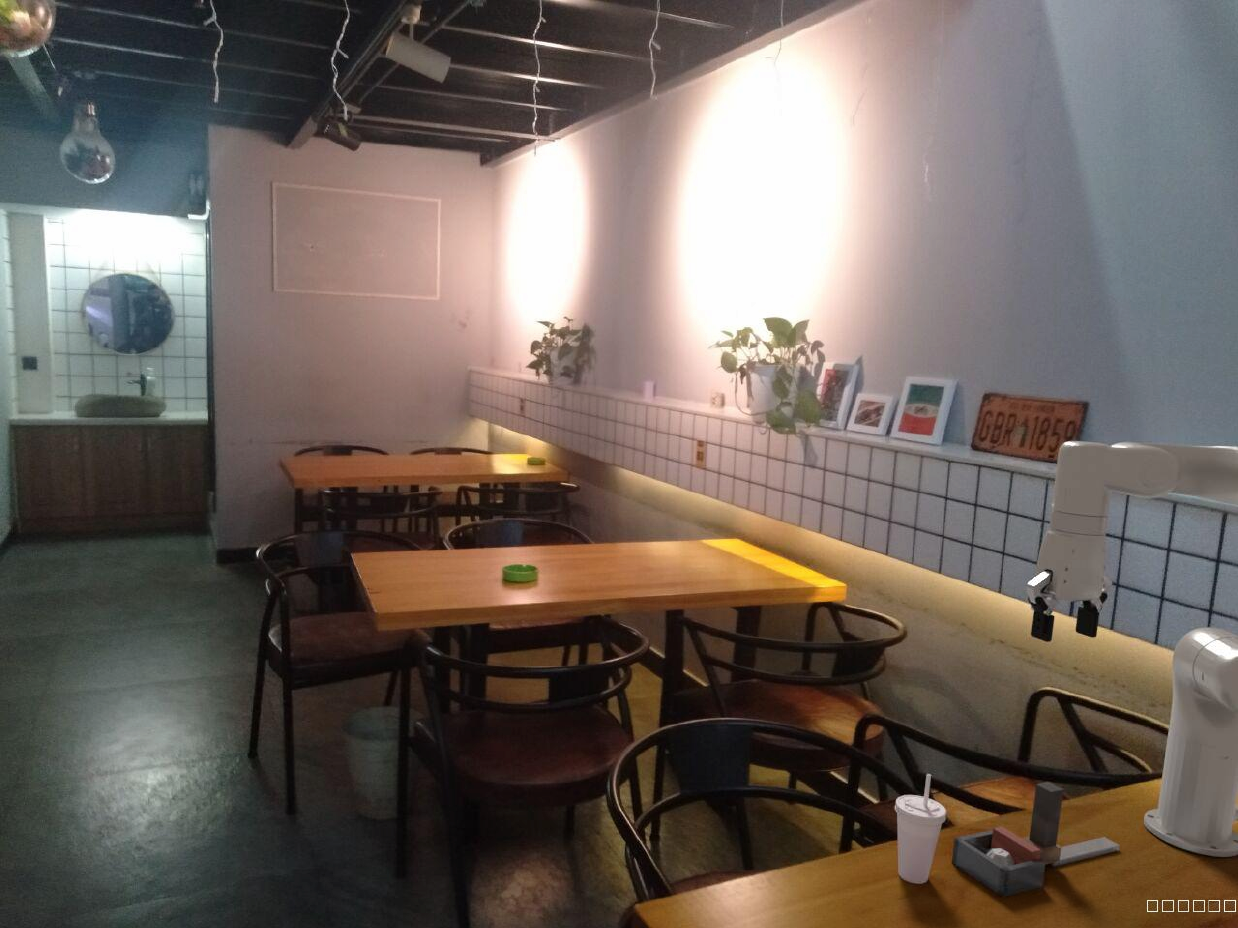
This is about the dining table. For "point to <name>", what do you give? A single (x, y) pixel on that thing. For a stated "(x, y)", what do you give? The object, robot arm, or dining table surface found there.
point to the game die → (1001, 857)
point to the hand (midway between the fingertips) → (1063, 636)
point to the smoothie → (917, 834)
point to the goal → (995, 866)
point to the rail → (1086, 850)
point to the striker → (1036, 829)
